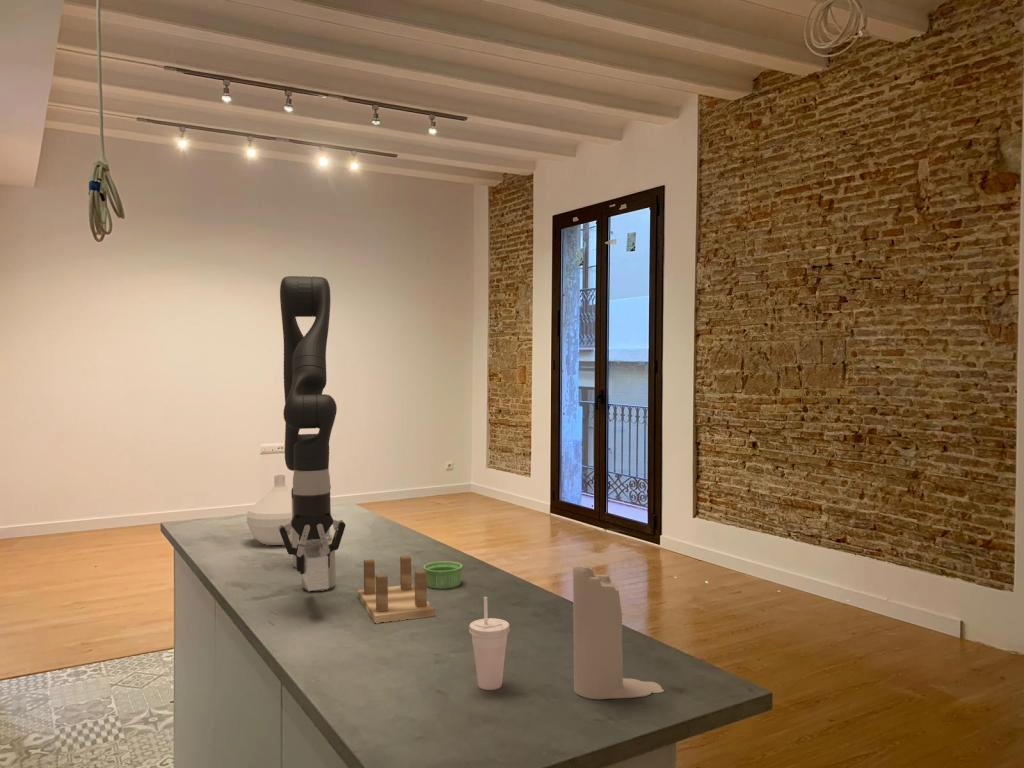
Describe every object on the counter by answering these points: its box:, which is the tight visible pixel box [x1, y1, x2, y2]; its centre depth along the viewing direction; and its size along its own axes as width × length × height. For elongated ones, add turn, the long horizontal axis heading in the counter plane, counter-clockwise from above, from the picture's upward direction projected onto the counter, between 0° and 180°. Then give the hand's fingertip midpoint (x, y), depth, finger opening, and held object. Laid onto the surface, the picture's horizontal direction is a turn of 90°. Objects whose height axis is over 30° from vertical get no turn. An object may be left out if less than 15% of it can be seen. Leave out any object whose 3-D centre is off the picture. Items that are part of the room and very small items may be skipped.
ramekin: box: [422, 560, 463, 590], centre depth 183 cm, size 9×9×4 cm
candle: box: [572, 563, 665, 700], centre depth 124 cm, size 7×14×20 cm, turn 95°
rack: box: [357, 555, 435, 624], centre depth 167 cm, size 19×12×8 cm, turn 21°
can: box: [301, 534, 337, 592], centre depth 181 cm, size 8×8×12 cm
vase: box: [246, 474, 292, 546], centre depth 228 cm, size 18×18×19 cm
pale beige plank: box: [301, 539, 330, 592], centre depth 166 cm, size 18×4×6 cm, turn 20°
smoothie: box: [469, 596, 510, 691], centre depth 126 cm, size 6×6×14 cm
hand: (313, 571), depth 166 cm, fingers closed on pale beige plank, 4 cm apart
